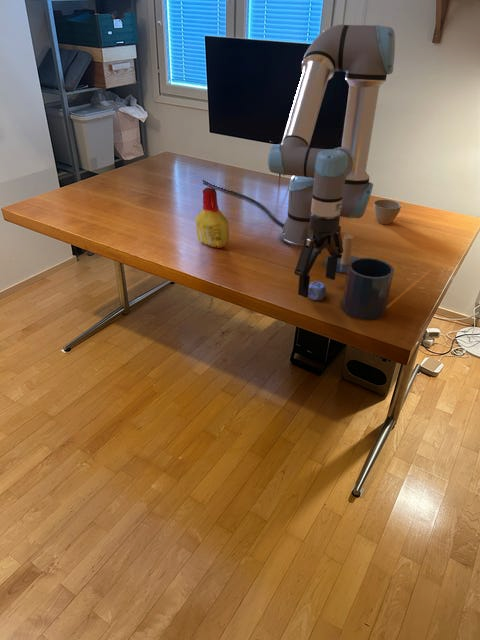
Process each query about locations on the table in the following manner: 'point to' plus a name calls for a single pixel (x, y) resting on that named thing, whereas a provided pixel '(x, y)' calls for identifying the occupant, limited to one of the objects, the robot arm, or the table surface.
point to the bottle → (212, 221)
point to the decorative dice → (316, 291)
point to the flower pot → (386, 210)
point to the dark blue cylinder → (367, 288)
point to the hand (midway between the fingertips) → (316, 286)
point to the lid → (344, 255)
